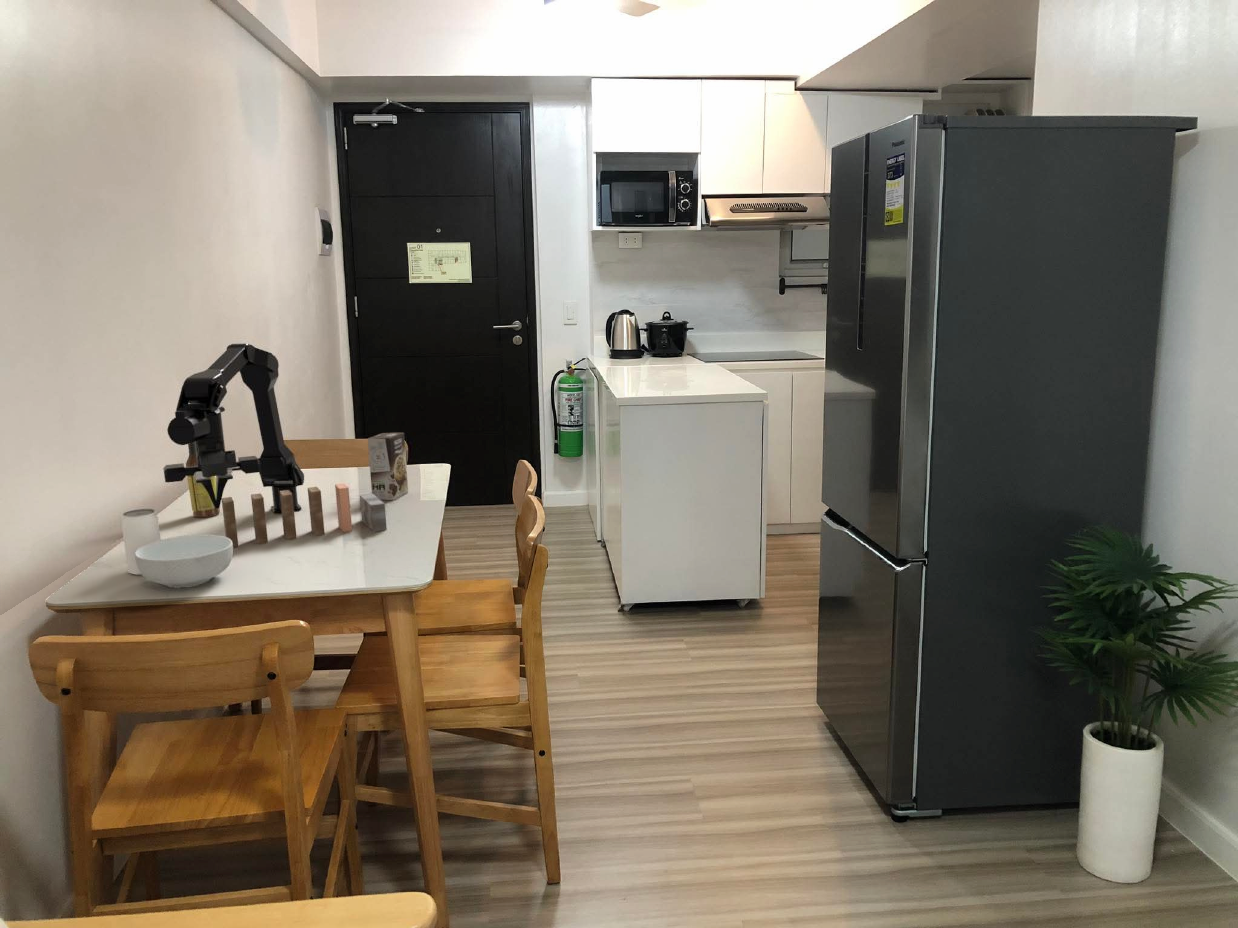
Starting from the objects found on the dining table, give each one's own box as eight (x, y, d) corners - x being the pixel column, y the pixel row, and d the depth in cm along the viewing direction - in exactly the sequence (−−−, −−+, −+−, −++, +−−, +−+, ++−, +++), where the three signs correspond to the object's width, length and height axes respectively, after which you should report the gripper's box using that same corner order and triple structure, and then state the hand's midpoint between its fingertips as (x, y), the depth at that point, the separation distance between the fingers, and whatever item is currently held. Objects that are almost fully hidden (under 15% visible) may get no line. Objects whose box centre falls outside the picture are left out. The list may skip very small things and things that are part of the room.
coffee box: (394, 500, 244) (390, 438, 241) (371, 500, 246) (366, 437, 242) (409, 492, 253) (405, 431, 250) (386, 491, 254) (382, 431, 251)
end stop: (361, 519, 226) (359, 495, 224) (374, 518, 227) (372, 493, 226) (373, 531, 215) (371, 505, 214) (386, 529, 216) (384, 503, 215)
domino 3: (287, 539, 210) (282, 495, 208) (283, 534, 215) (279, 491, 213) (296, 538, 211) (292, 494, 209) (293, 533, 216) (288, 489, 214)
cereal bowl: (136, 601, 172) (131, 564, 171) (141, 576, 187) (136, 541, 186) (237, 587, 179) (233, 550, 178) (234, 563, 194) (230, 529, 192)
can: (136, 566, 193) (128, 508, 191) (169, 565, 194) (162, 507, 192) (122, 576, 187) (114, 517, 185) (156, 574, 188) (149, 515, 185)
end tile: (343, 532, 215) (339, 488, 213) (338, 527, 220) (335, 484, 218) (352, 530, 216) (348, 487, 214) (347, 525, 221) (344, 483, 219)
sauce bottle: (226, 512, 236) (217, 433, 232) (207, 519, 230) (198, 437, 226) (204, 511, 238) (195, 432, 234) (186, 517, 233) (176, 436, 229)
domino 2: (258, 543, 208) (253, 499, 206) (255, 538, 212) (250, 494, 210) (268, 542, 209) (263, 497, 207) (265, 537, 213) (260, 493, 211)
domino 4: (315, 535, 213) (311, 491, 211) (311, 530, 217) (307, 487, 215) (324, 534, 214) (320, 490, 212) (320, 529, 218) (316, 486, 216)
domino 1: (228, 548, 205) (223, 502, 203) (226, 542, 209) (221, 498, 207) (238, 546, 206) (233, 501, 204) (236, 541, 210) (231, 496, 208)
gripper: (161, 447, 191) (170, 522, 194) (260, 437, 199) (268, 510, 202) (159, 438, 201) (168, 511, 204) (254, 429, 209) (261, 499, 212)
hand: (217, 508), depth 205 cm, fingers closed
